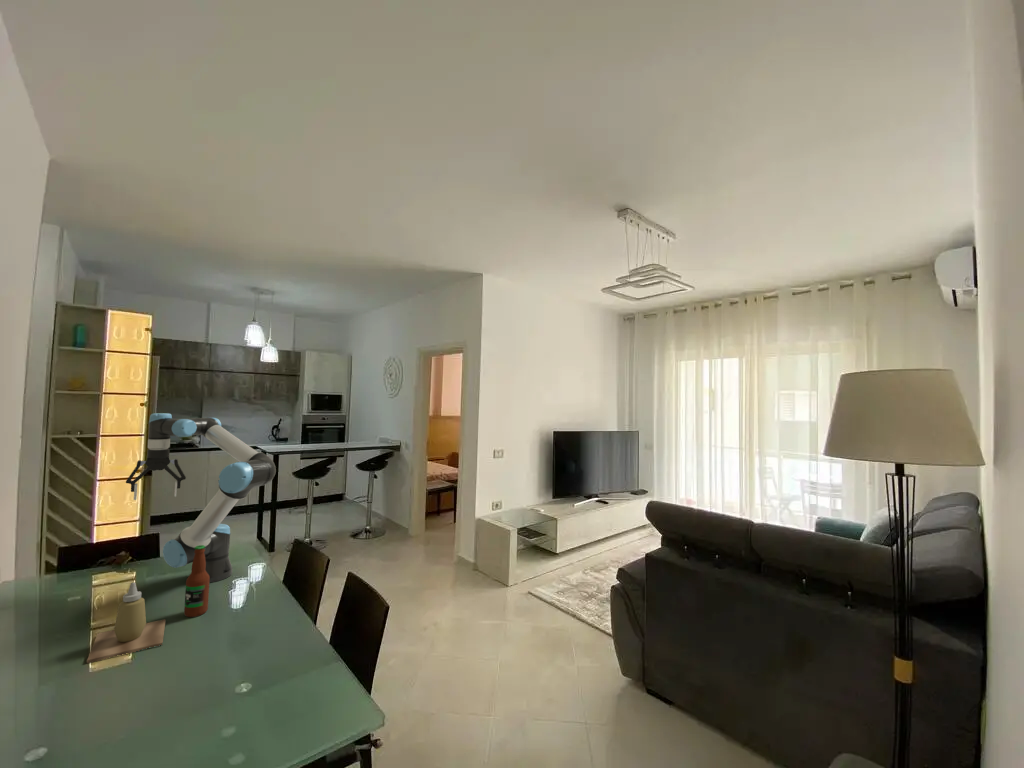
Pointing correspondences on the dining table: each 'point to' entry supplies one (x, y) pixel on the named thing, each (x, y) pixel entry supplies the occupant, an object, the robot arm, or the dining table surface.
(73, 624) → the dining table surface
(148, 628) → the walnut board
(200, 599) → the bottle
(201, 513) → the robot arm
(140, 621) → the squeeze bottle
